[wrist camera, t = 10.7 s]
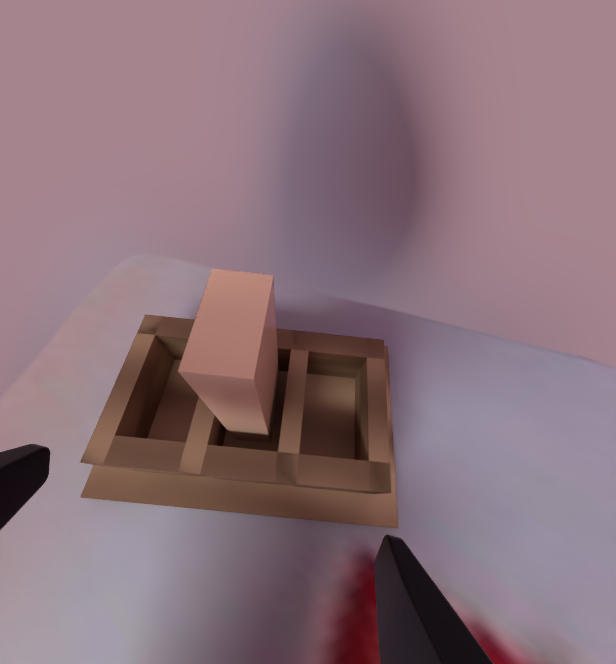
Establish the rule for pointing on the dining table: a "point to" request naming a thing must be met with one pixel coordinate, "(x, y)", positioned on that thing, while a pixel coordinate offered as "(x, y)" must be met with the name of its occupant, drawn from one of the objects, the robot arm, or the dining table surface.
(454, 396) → the dining table surface
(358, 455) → the wooden compartment tray
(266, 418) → the tan rectangular block
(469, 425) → the dining table surface
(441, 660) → the robot arm
